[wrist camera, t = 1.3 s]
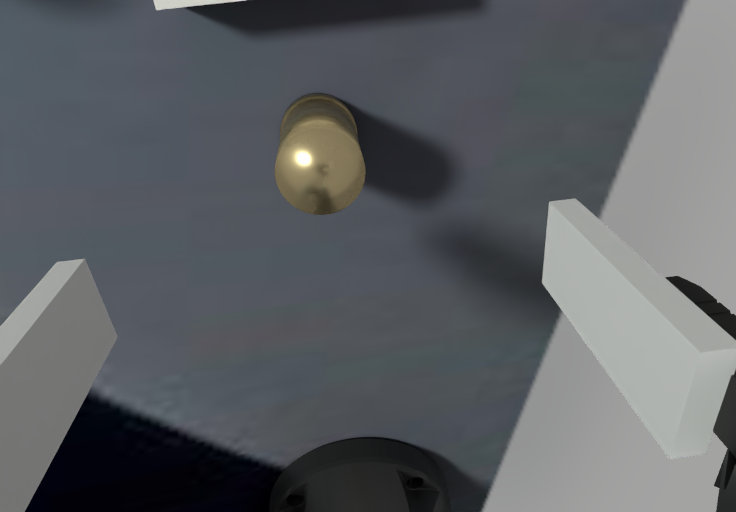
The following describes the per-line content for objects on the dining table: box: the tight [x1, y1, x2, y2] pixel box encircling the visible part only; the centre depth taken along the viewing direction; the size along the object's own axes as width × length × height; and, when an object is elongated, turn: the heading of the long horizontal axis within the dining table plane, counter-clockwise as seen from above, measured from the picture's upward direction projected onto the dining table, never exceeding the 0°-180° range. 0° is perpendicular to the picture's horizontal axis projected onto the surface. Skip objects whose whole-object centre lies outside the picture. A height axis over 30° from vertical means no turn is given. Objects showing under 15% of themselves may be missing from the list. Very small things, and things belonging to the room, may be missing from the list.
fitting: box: [275, 93, 365, 215], centre depth 26 cm, size 4×4×7 cm
